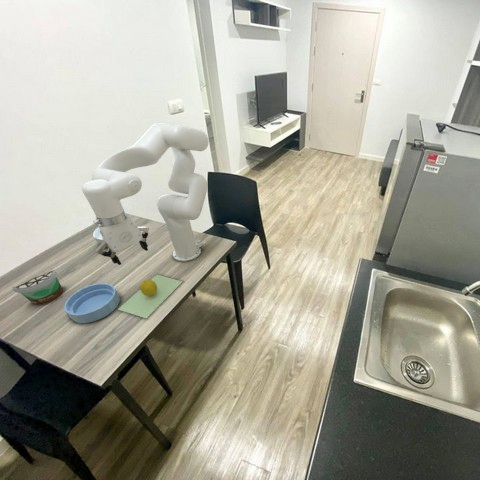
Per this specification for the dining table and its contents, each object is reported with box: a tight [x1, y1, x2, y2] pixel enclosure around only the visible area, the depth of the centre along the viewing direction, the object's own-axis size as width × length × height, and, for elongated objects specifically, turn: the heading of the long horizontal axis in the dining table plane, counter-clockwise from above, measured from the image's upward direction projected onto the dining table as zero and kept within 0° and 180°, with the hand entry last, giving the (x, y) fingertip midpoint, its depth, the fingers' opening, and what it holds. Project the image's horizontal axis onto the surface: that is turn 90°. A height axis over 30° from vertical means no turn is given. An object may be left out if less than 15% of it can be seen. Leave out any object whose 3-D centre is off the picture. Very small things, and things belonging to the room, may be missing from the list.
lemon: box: [139, 279, 157, 296], centre depth 104 cm, size 6×6×8 cm
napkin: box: [117, 274, 183, 319], centre depth 106 cm, size 20×13×1 cm, turn 165°
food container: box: [12, 269, 64, 306], centre depth 99 cm, size 12×6×10 cm, turn 148°
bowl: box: [63, 282, 121, 324], centre depth 99 cm, size 15×15×5 cm
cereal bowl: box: [92, 226, 104, 245], centre depth 130 cm, size 17×17×7 cm
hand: (132, 256), depth 96 cm, fingers open, 9 cm apart
